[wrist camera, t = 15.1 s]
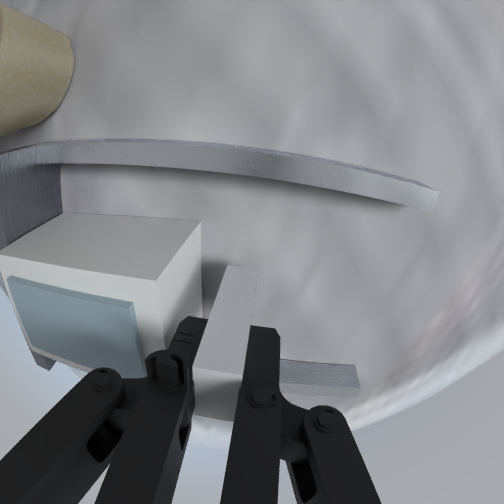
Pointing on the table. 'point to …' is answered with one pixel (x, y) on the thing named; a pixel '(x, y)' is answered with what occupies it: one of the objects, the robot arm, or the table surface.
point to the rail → (197, 158)
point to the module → (104, 287)
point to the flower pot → (31, 70)
